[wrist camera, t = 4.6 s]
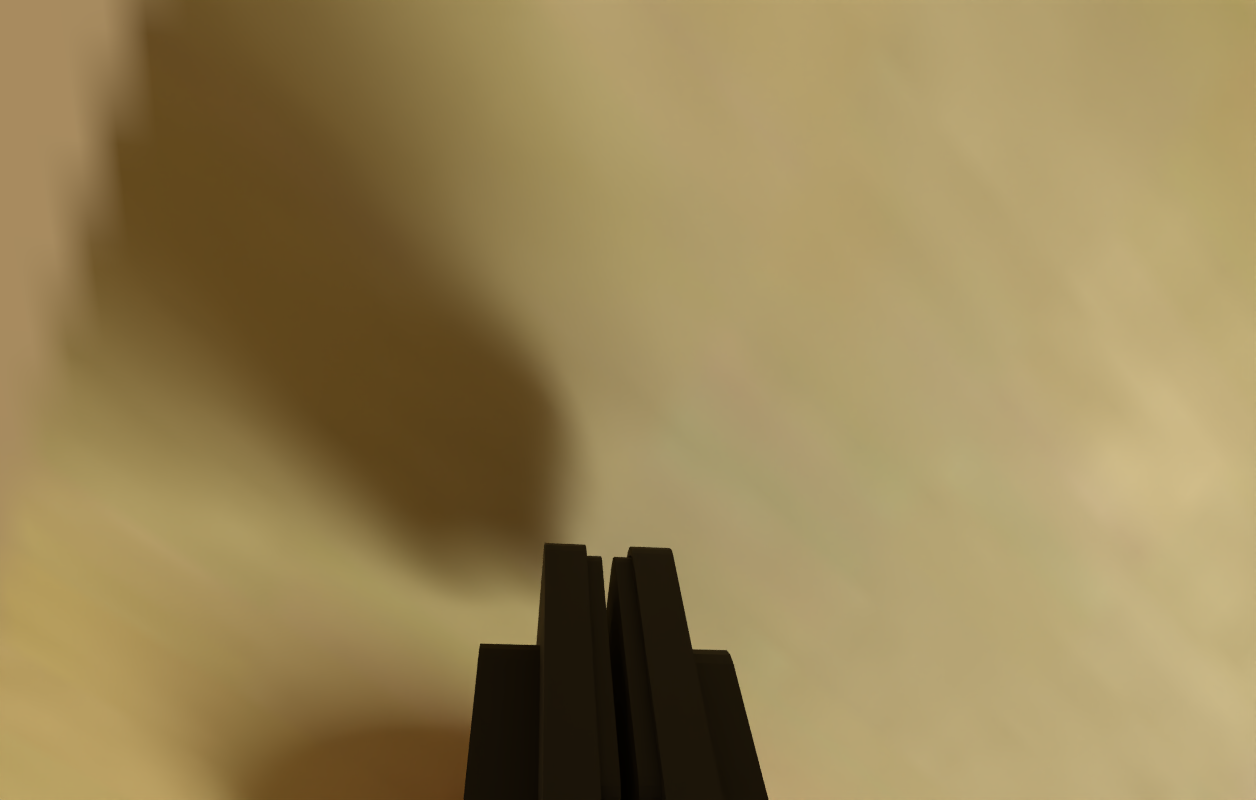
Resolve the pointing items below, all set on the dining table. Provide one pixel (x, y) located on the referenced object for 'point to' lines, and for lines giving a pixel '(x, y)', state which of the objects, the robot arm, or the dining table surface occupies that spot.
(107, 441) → the dining table surface
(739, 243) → the dining table surface
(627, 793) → the robot arm
